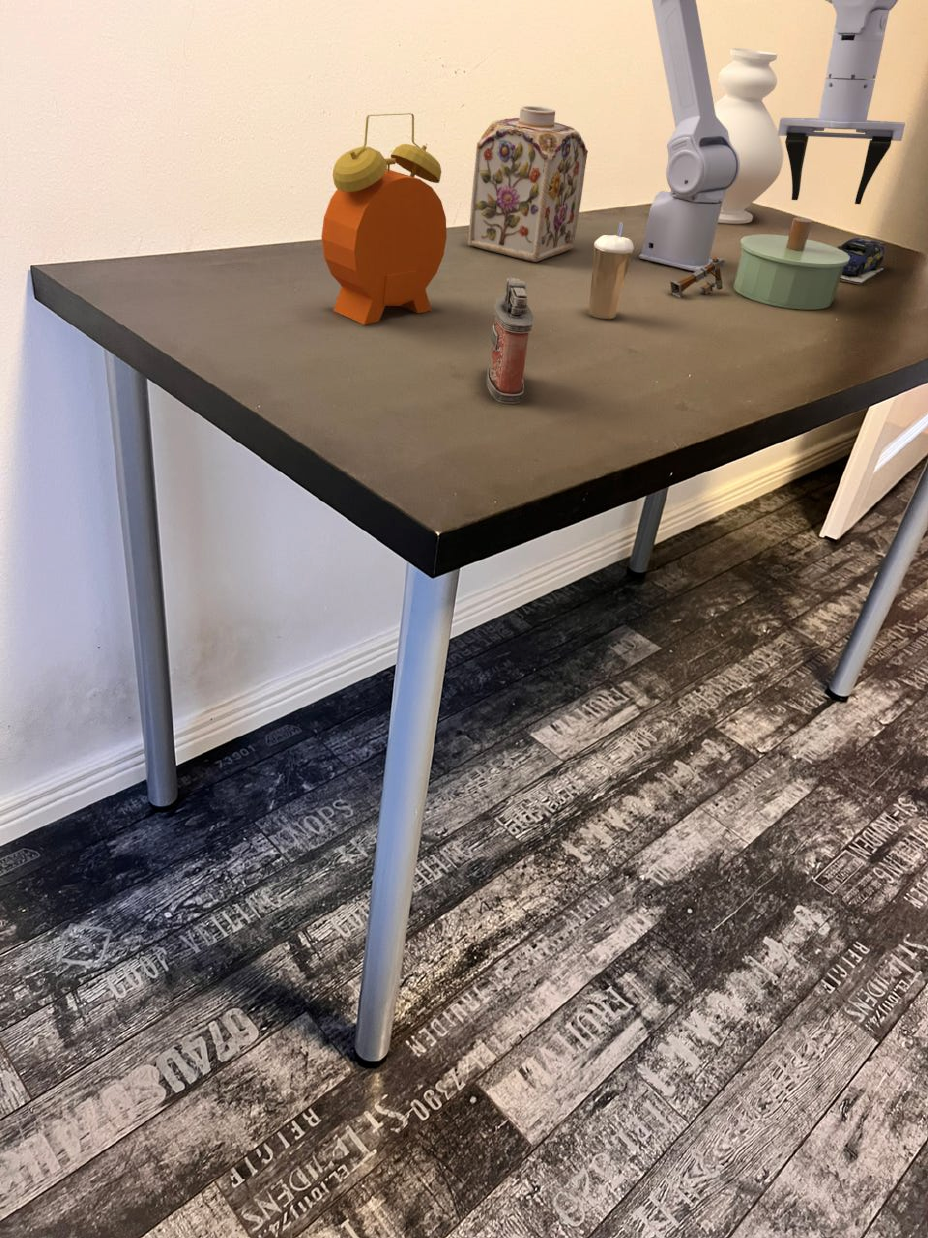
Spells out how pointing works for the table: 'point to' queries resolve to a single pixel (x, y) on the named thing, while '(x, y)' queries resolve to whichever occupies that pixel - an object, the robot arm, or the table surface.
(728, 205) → the decorative vase
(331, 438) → the table surface
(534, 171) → the decorative jar
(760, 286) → the canister
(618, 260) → the milkshake
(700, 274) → the wooden post with brackets
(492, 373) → the lighter
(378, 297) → the alarm clock
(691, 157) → the robot arm
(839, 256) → the lid
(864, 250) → the race car
